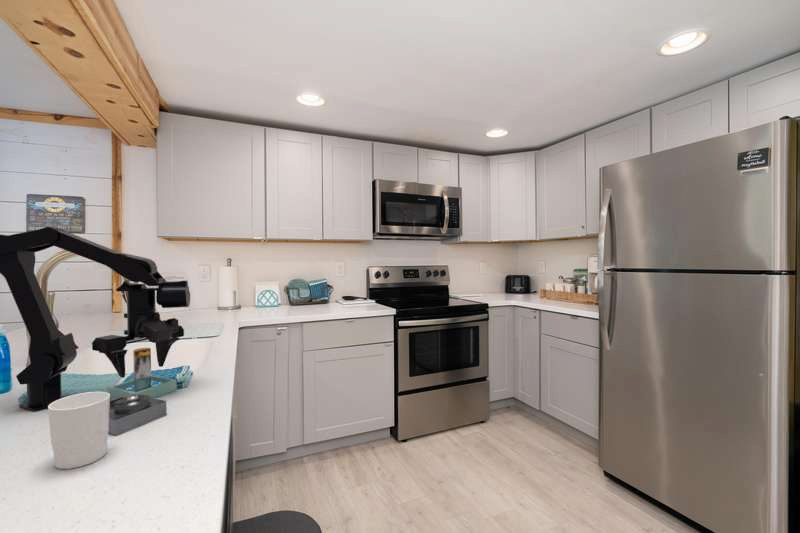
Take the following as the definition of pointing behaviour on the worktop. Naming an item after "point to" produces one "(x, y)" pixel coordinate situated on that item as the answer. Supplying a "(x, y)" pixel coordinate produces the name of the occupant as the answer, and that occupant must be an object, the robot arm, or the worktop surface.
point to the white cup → (79, 428)
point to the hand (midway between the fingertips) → (142, 371)
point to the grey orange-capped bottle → (142, 369)
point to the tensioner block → (133, 412)
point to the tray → (152, 392)
